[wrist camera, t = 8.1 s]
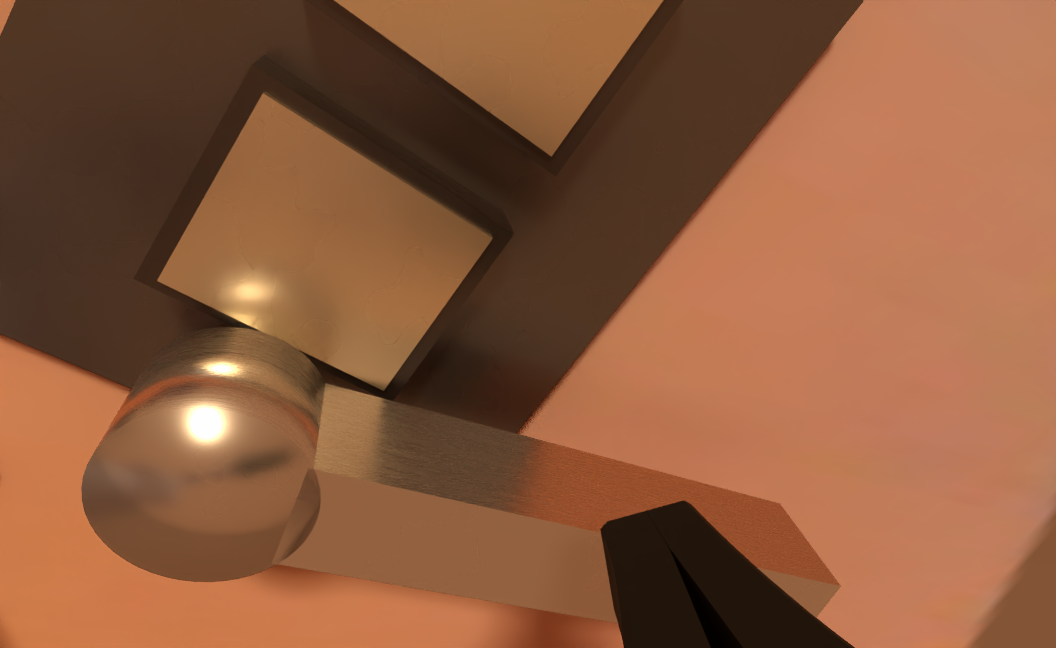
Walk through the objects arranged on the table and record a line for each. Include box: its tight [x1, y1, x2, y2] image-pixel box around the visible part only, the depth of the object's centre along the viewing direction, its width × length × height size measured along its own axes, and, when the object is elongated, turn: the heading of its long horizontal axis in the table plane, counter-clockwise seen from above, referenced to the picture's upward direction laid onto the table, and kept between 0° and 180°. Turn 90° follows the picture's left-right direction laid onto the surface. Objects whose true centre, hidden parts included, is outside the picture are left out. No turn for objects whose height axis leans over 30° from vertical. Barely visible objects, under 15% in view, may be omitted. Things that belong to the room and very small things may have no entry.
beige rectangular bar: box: [82, 327, 841, 623], centre depth 16 cm, size 16×4×3 cm, turn 66°
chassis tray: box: [0, 0, 863, 433], centre depth 15 cm, size 17×14×3 cm
